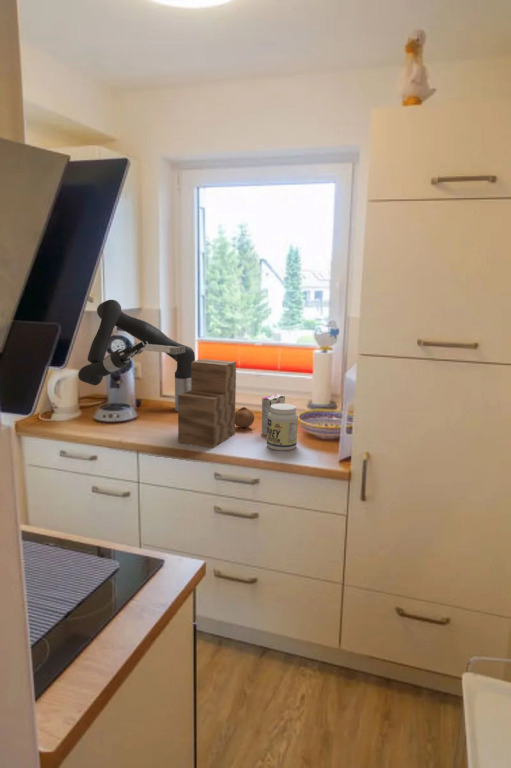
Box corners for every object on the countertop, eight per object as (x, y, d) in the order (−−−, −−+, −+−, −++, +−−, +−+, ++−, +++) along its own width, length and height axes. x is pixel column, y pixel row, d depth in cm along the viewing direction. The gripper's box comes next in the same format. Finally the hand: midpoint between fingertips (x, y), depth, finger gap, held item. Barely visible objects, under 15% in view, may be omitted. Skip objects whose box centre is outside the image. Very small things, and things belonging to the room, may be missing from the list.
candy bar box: (275, 428, 231) (276, 393, 228) (284, 430, 228) (285, 395, 225) (260, 434, 223) (261, 397, 219) (269, 436, 220) (271, 399, 216)
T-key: (140, 348, 220) (140, 342, 219) (185, 352, 212) (185, 346, 211) (129, 350, 212) (129, 344, 212) (175, 354, 204) (175, 348, 204)
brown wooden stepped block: (202, 429, 227) (202, 358, 221) (234, 434, 221) (236, 361, 215) (178, 442, 208) (177, 365, 202) (213, 448, 202) (214, 369, 196)
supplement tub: (260, 446, 206) (261, 405, 203) (280, 440, 215) (282, 401, 212) (282, 453, 198) (284, 411, 195) (302, 447, 206) (304, 406, 203)
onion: (240, 432, 224) (240, 410, 222) (229, 427, 232) (229, 406, 230) (258, 429, 229) (258, 408, 227) (246, 424, 237) (247, 403, 235)
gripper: (102, 354, 214) (131, 336, 207) (122, 351, 227) (150, 334, 220) (109, 370, 214) (139, 353, 207) (129, 366, 227) (158, 349, 220)
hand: (145, 343), depth 214 cm, fingers closed on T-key, 2 cm apart
